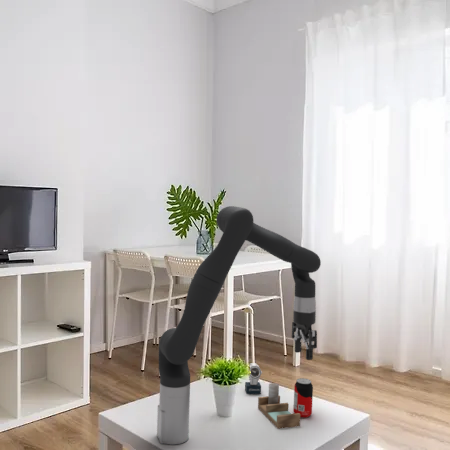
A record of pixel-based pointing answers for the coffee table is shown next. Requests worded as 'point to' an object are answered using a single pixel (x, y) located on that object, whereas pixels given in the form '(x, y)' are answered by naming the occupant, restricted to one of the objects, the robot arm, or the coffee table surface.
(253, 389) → the watch
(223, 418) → the coffee table surface
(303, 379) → the beverage can
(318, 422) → the coffee table surface
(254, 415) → the coffee table surface
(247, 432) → the coffee table surface
